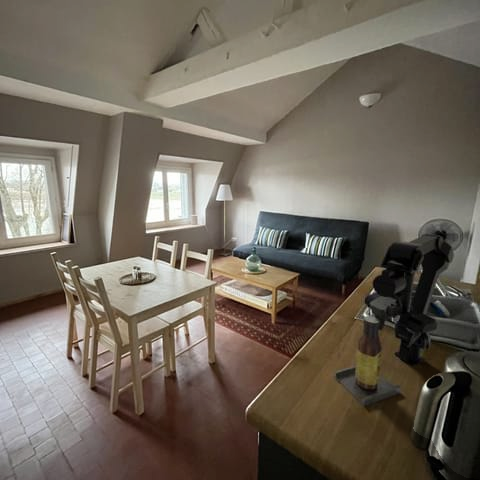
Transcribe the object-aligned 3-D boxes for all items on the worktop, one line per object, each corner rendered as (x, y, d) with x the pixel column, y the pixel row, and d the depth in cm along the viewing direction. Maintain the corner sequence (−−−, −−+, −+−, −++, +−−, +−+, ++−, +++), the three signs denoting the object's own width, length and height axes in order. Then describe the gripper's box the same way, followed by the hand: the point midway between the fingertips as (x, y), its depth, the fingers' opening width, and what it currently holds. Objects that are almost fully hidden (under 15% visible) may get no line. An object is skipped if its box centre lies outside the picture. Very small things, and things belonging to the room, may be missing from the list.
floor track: (367, 366, 84) (367, 361, 84) (400, 392, 73) (400, 387, 73) (333, 376, 80) (334, 371, 79) (363, 406, 69) (364, 400, 69)
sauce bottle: (381, 392, 73) (389, 327, 69) (356, 389, 74) (363, 325, 70) (374, 376, 79) (381, 315, 75) (352, 373, 80) (358, 313, 76)
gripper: (352, 280, 79) (348, 327, 83) (411, 306, 62) (402, 364, 66) (380, 275, 83) (375, 320, 87) (442, 299, 66) (433, 354, 69)
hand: (393, 337), depth 77 cm, fingers open, 9 cm apart
